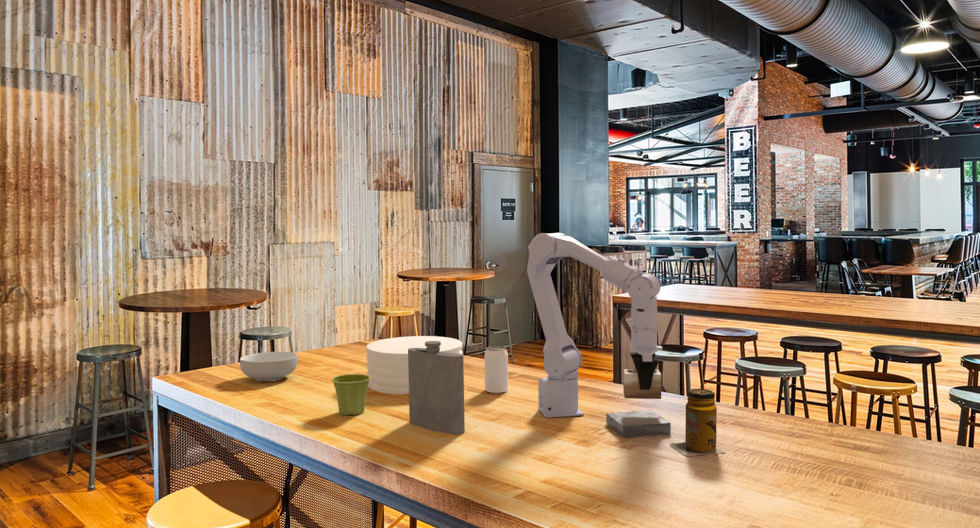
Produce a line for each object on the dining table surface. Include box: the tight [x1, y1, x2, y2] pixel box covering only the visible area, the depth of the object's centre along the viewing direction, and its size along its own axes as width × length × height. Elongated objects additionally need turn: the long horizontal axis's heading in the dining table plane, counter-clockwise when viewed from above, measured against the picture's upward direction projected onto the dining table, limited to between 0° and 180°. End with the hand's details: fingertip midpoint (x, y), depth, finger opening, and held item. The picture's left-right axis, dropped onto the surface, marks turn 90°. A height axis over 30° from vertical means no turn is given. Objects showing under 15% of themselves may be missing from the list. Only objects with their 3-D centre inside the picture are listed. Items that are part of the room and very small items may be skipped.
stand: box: [605, 409, 672, 438], centre depth 148 cm, size 11×10×2 cm
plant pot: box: [331, 373, 371, 416], centre depth 163 cm, size 9×9×9 cm
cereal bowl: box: [239, 351, 299, 383], centre depth 200 cm, size 17×17×7 cm
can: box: [484, 345, 509, 394], centre depth 182 cm, size 6×6×12 cm
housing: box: [622, 368, 662, 400], centre depth 150 cm, size 5×8×6 cm, turn 82°
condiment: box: [669, 388, 725, 457], centre depth 134 cm, size 7×8×12 cm
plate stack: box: [366, 335, 464, 395], centre depth 194 cm, size 28×28×12 cm
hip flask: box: [408, 341, 466, 436], centre depth 150 cm, size 16×4×20 cm, turn 52°
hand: (643, 386), depth 150 cm, fingers closed on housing, 5 cm apart
